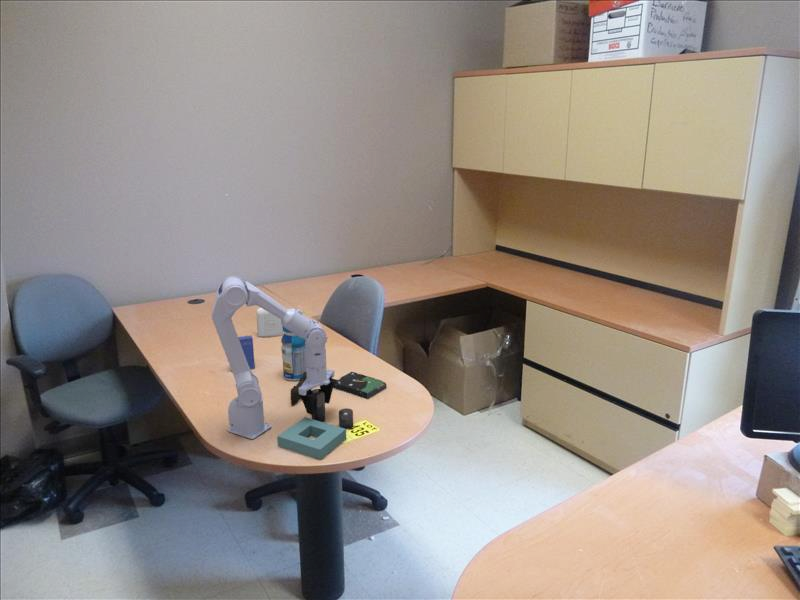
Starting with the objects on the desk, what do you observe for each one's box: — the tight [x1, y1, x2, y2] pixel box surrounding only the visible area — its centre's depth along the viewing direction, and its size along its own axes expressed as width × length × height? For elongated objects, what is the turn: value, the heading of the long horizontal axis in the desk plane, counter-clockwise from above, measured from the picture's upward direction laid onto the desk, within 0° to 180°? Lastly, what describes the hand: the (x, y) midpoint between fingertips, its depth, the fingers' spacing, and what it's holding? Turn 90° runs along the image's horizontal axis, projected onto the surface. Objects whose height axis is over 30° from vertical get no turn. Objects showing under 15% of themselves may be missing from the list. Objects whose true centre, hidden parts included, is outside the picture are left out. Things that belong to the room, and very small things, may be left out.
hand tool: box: [290, 372, 307, 407], centre depth 188 cm, size 19×4×5 cm, turn 169°
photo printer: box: [256, 307, 284, 338], centre depth 237 cm, size 10×4×12 cm, turn 102°
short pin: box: [338, 408, 354, 430], centre depth 167 cm, size 4×4×4 cm
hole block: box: [276, 416, 347, 461], centre depth 159 cm, size 14×12×3 cm
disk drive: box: [333, 371, 387, 400], centre depth 192 cm, size 10×3×15 cm
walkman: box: [238, 334, 256, 370], centre depth 204 cm, size 8×3×12 cm, turn 114°
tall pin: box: [311, 388, 327, 423], centre depth 170 cm, size 4×4×9 cm
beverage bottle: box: [280, 327, 306, 382], centre depth 197 cm, size 8×8×20 cm
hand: (318, 407), depth 170 cm, fingers open, 7 cm apart
